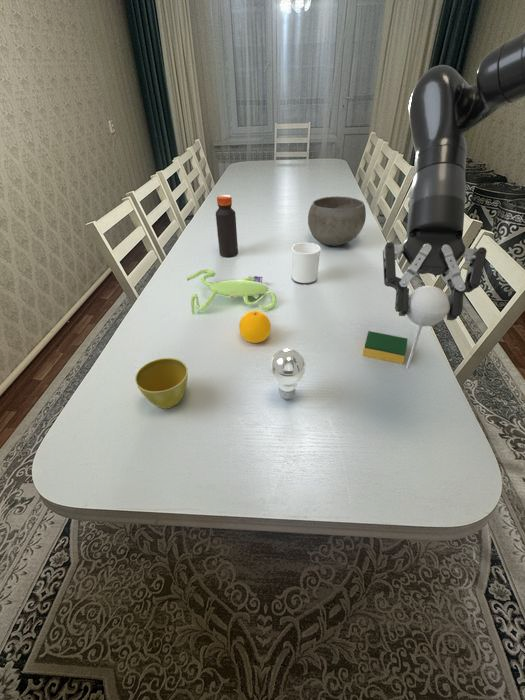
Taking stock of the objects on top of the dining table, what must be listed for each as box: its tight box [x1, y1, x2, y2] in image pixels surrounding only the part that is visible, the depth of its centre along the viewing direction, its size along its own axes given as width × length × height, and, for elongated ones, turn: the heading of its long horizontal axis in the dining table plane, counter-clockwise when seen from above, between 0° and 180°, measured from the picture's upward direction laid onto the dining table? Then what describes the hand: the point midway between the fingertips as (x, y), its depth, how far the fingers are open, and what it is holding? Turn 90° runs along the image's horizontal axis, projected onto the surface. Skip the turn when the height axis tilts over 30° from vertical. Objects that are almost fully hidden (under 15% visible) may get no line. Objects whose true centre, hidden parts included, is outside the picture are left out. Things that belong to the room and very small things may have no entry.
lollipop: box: [405, 285, 450, 370], centre depth 55 cm, size 6×6×15 cm
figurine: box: [186, 269, 277, 315], centre depth 105 cm, size 18×27×6 cm
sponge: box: [362, 330, 408, 365], centre depth 84 cm, size 9×6×3 cm, turn 69°
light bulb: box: [269, 348, 307, 400], centre depth 71 cm, size 7×7×12 cm
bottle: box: [215, 194, 239, 258], centre depth 126 cm, size 7×7×20 cm
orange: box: [238, 310, 272, 344], centre depth 88 cm, size 8×8×8 cm
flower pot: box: [134, 357, 189, 409], centre depth 72 cm, size 10×10×7 cm
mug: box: [291, 242, 322, 285], centre depth 113 cm, size 11×9×10 cm
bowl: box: [307, 196, 367, 247], centre depth 134 cm, size 21×21×15 cm
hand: (427, 316), depth 51 cm, fingers closed on lollipop, 6 cm apart
